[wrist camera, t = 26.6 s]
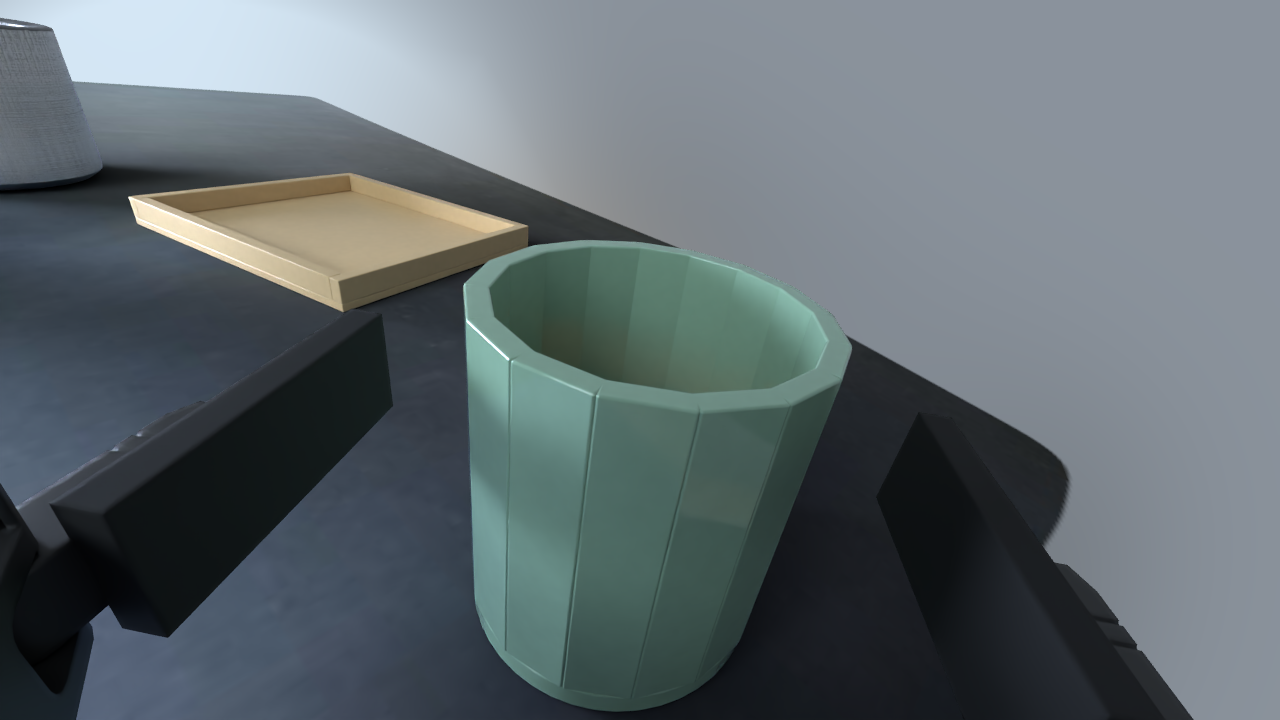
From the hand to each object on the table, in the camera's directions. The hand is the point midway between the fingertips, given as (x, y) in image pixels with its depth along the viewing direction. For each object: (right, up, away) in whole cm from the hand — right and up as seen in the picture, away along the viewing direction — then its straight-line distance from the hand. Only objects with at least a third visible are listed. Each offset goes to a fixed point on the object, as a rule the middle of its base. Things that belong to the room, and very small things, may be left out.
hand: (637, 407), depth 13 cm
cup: (-1, -6, +5) cm, 8 cm away
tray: (-23, +11, +28) cm, 38 cm away
